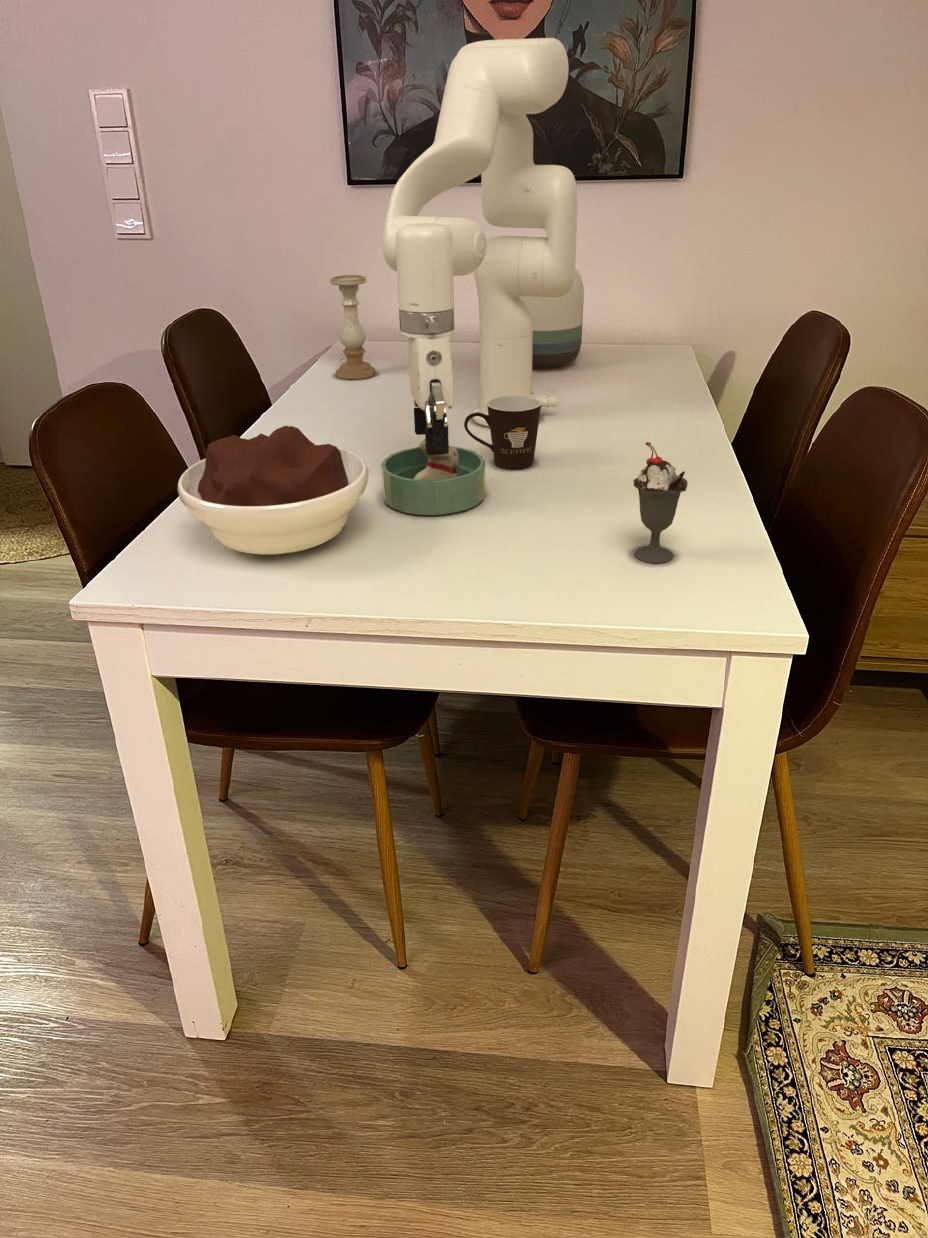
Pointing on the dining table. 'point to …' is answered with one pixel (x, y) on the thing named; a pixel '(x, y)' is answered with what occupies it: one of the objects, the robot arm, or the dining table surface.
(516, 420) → the coffee mug
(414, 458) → the bowl
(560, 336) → the vase
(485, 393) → the robot arm
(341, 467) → the cream round dish
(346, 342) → the candle holder
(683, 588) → the dining table surface
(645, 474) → the sundae
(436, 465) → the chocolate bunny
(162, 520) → the dining table surface
